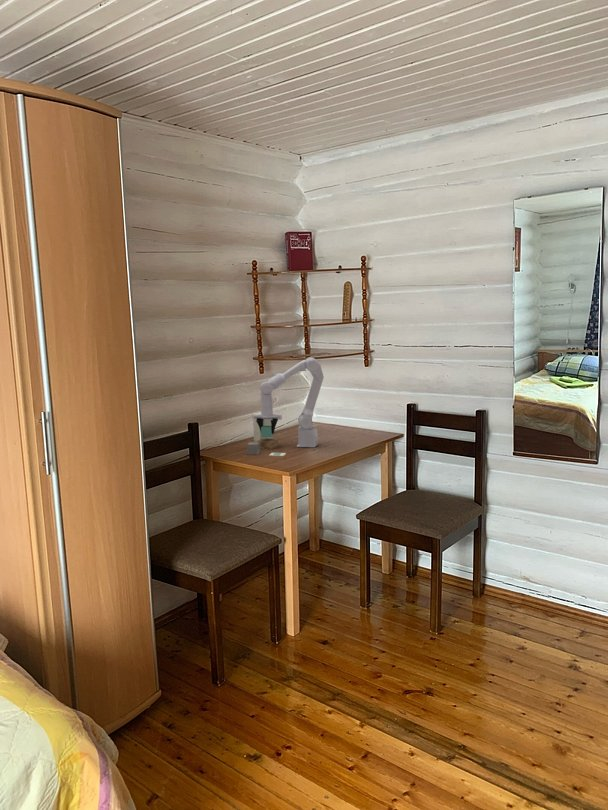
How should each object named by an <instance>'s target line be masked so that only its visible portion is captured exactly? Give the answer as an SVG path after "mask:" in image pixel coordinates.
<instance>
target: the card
mask: <svg viewBox="0 0 608 810" xmlns="http://www.w3.org/2000/svg"><path fill="white" fill-rule="evenodd" d="M286 454H287V453H286V452H271V453H270V454H269V455H268V456H269V457H270V456H271V457H272V456H273V457H284V456H286Z"/></svg>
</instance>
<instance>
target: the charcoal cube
mask: <svg viewBox="0 0 608 810" xmlns="http://www.w3.org/2000/svg"><path fill="white" fill-rule="evenodd" d="M246 453H247V455H249V456H251V455H252V456H258V455H259V454H261V449H260V442H254V441H250V442H248V443H246Z"/></svg>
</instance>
